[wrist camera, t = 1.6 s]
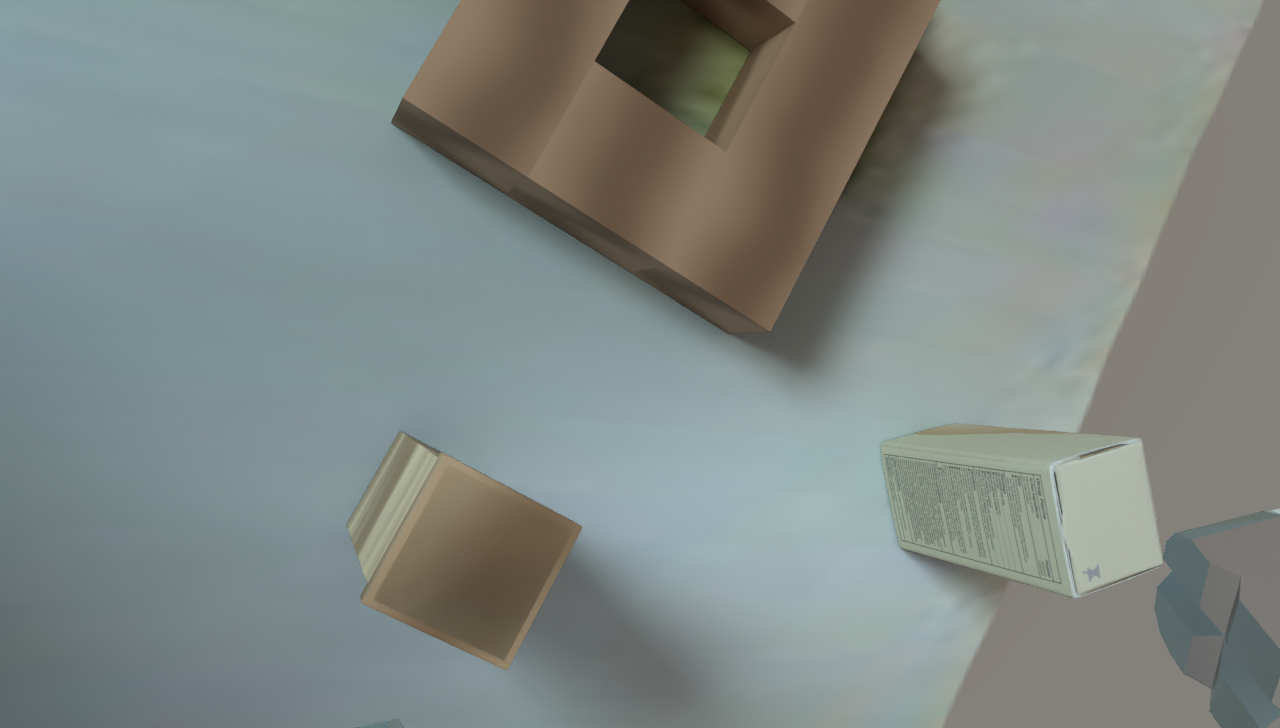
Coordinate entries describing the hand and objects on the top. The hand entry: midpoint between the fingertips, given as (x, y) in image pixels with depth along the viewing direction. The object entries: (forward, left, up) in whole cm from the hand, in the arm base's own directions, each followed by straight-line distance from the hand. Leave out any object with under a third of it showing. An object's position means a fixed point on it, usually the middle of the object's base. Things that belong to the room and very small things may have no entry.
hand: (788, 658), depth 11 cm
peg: (+1, -2, -30) cm, 30 cm away
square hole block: (+1, +18, -30) cm, 35 cm away
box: (+21, +9, -30) cm, 38 cm away
